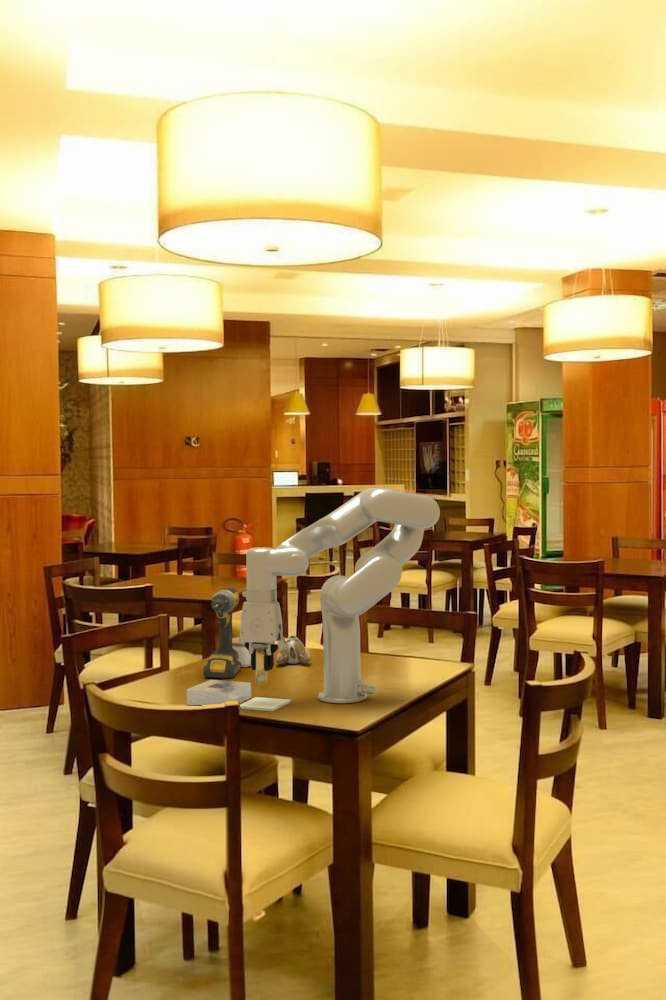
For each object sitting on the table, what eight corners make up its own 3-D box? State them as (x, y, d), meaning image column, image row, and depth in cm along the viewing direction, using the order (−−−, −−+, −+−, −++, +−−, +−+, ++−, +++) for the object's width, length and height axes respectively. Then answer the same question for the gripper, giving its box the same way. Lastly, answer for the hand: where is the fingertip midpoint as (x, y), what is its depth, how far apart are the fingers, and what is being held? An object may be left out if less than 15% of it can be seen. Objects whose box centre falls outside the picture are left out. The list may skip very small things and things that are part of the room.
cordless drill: (195, 684, 273) (193, 594, 272) (214, 669, 293) (212, 586, 292) (227, 684, 272) (225, 594, 271) (243, 669, 291) (241, 586, 291)
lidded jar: (265, 661, 303) (264, 631, 303) (260, 668, 292) (259, 637, 292) (231, 661, 304) (230, 631, 304) (224, 668, 293) (224, 637, 293)
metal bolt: (265, 685, 242) (265, 644, 242) (247, 684, 244) (247, 643, 244) (274, 682, 247) (274, 641, 247) (257, 680, 249) (257, 640, 249)
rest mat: (291, 702, 249) (290, 699, 249) (273, 711, 240) (273, 708, 240) (256, 699, 253) (256, 697, 253) (237, 708, 244) (237, 705, 244)
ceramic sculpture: (309, 630, 307) (310, 641, 292) (310, 657, 308) (311, 669, 293) (275, 631, 307) (274, 642, 292) (276, 658, 308) (275, 671, 293)
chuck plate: (251, 697, 255) (250, 682, 255) (228, 708, 244) (228, 692, 243) (210, 694, 259) (210, 679, 259) (187, 705, 248) (186, 689, 248)
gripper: (225, 597, 245) (226, 670, 246) (284, 600, 239) (285, 674, 239) (240, 593, 252) (240, 664, 253) (297, 596, 246) (298, 669, 246)
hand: (262, 668), depth 246 cm, fingers closed on metal bolt, 3 cm apart
